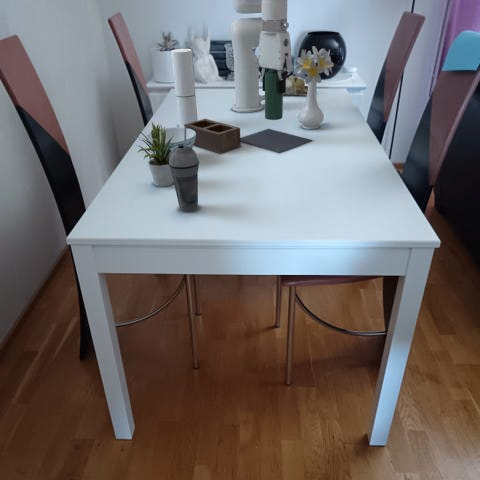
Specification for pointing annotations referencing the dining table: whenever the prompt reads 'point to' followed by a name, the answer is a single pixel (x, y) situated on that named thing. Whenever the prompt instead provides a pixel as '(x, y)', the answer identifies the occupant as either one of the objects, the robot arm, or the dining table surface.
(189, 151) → the beverage cup
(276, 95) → the bottle
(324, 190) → the dining table surface
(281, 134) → the mat
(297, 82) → the ceramic sculpture
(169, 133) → the chinaware
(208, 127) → the caddy
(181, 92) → the cylindrical container
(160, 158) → the house plant
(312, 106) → the flower vase
